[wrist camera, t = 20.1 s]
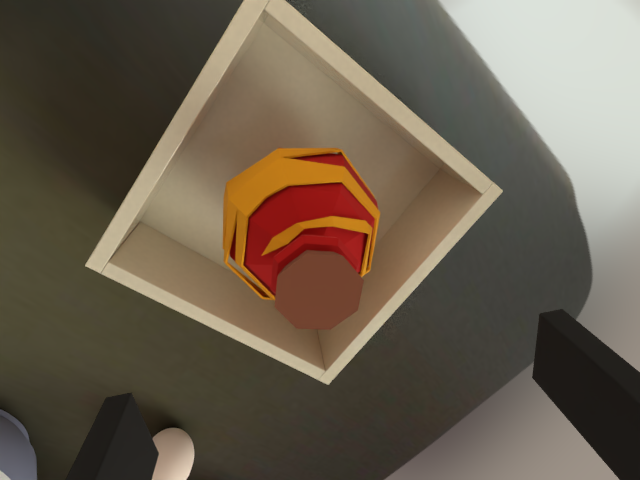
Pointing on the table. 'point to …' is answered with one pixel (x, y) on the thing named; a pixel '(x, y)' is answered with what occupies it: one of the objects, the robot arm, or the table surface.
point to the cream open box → (256, 143)
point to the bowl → (15, 450)
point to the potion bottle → (302, 233)
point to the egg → (173, 454)
